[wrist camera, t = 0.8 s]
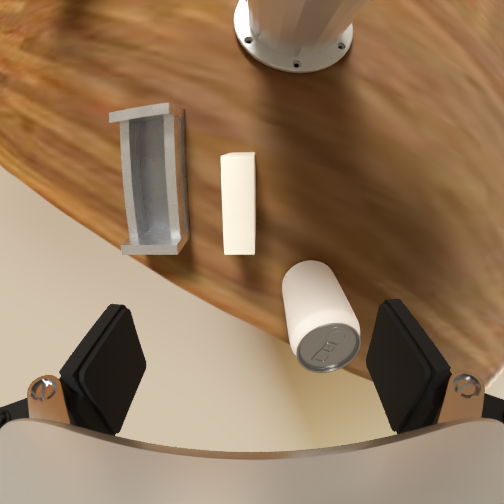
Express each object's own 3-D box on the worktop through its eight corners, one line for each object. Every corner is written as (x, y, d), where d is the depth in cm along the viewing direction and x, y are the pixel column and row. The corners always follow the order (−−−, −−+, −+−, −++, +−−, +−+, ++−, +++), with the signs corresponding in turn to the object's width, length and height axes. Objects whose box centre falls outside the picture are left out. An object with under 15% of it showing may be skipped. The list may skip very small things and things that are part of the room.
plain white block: (230, 152, 28) (220, 156, 20) (255, 152, 28) (254, 155, 20) (232, 226, 31) (223, 254, 23) (255, 226, 31) (255, 254, 23)
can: (344, 271, 32) (379, 332, 21) (317, 313, 35) (338, 382, 23) (297, 249, 31) (317, 308, 20) (272, 295, 34) (277, 365, 23)
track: (132, 116, 26) (109, 112, 21) (184, 109, 26) (168, 102, 21) (141, 236, 31) (122, 254, 26) (190, 235, 31) (177, 254, 26)
